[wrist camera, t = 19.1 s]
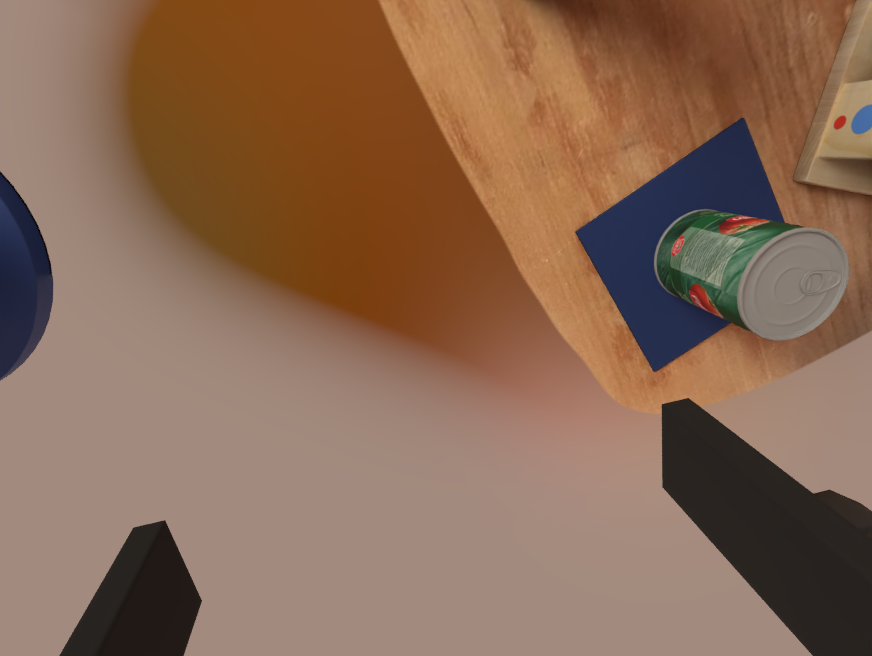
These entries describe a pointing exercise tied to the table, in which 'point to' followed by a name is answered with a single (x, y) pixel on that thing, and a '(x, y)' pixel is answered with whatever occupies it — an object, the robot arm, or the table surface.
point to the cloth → (647, 221)
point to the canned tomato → (753, 271)
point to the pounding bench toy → (844, 115)
